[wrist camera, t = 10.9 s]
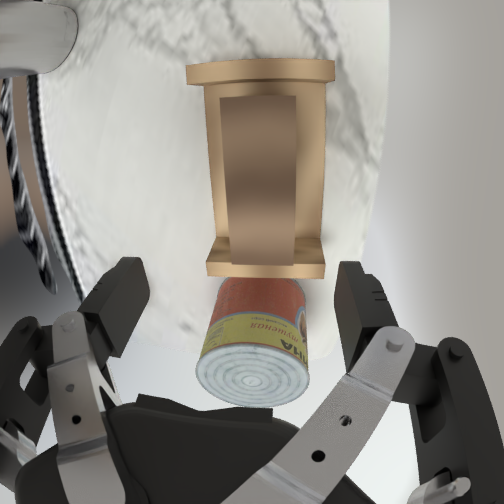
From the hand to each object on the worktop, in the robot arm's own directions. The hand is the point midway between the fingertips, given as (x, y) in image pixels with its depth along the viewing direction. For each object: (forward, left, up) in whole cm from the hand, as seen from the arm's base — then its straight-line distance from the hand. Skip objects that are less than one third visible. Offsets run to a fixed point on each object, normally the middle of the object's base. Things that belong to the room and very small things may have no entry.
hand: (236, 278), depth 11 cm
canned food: (-1, -18, -19) cm, 26 cm away
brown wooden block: (0, 0, -14) cm, 14 cm away
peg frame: (0, 0, -19) cm, 19 cm away
